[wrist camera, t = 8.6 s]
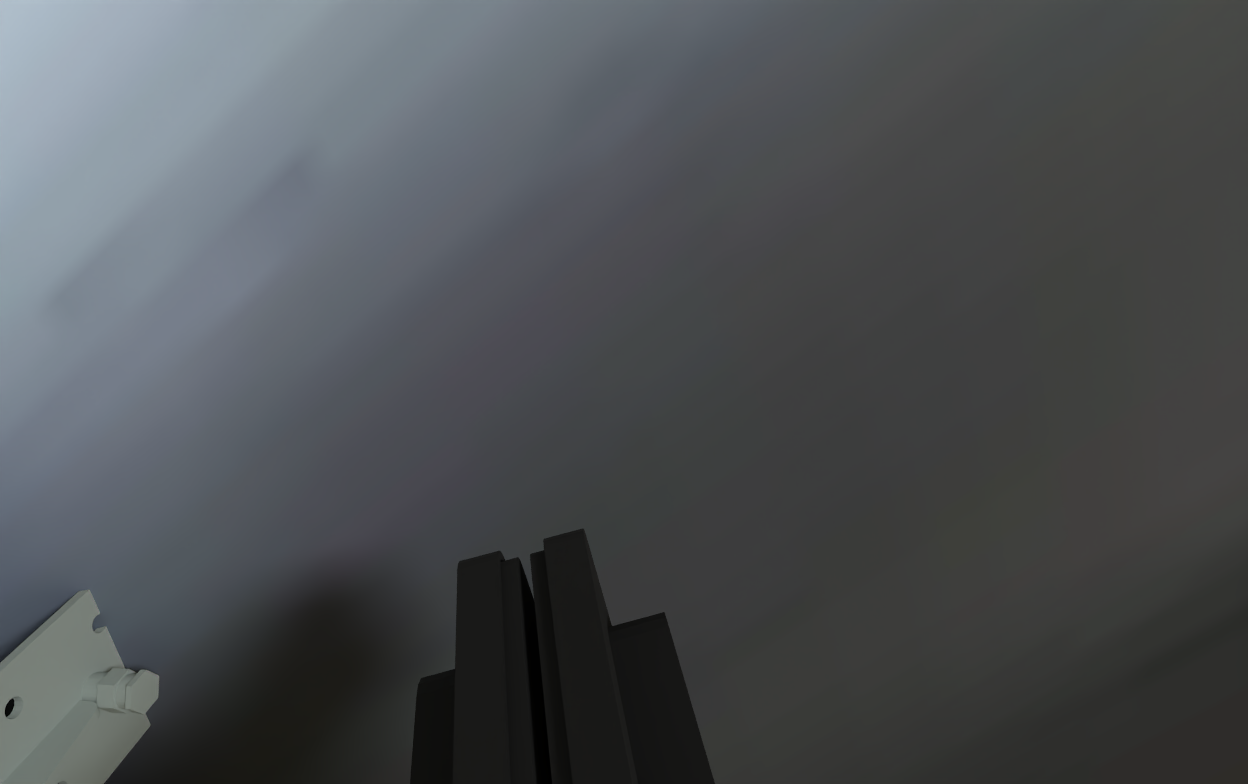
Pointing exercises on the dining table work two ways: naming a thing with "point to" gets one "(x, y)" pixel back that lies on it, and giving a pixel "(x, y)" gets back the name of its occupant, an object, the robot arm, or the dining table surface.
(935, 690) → the dining table surface
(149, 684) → the metal bracket
